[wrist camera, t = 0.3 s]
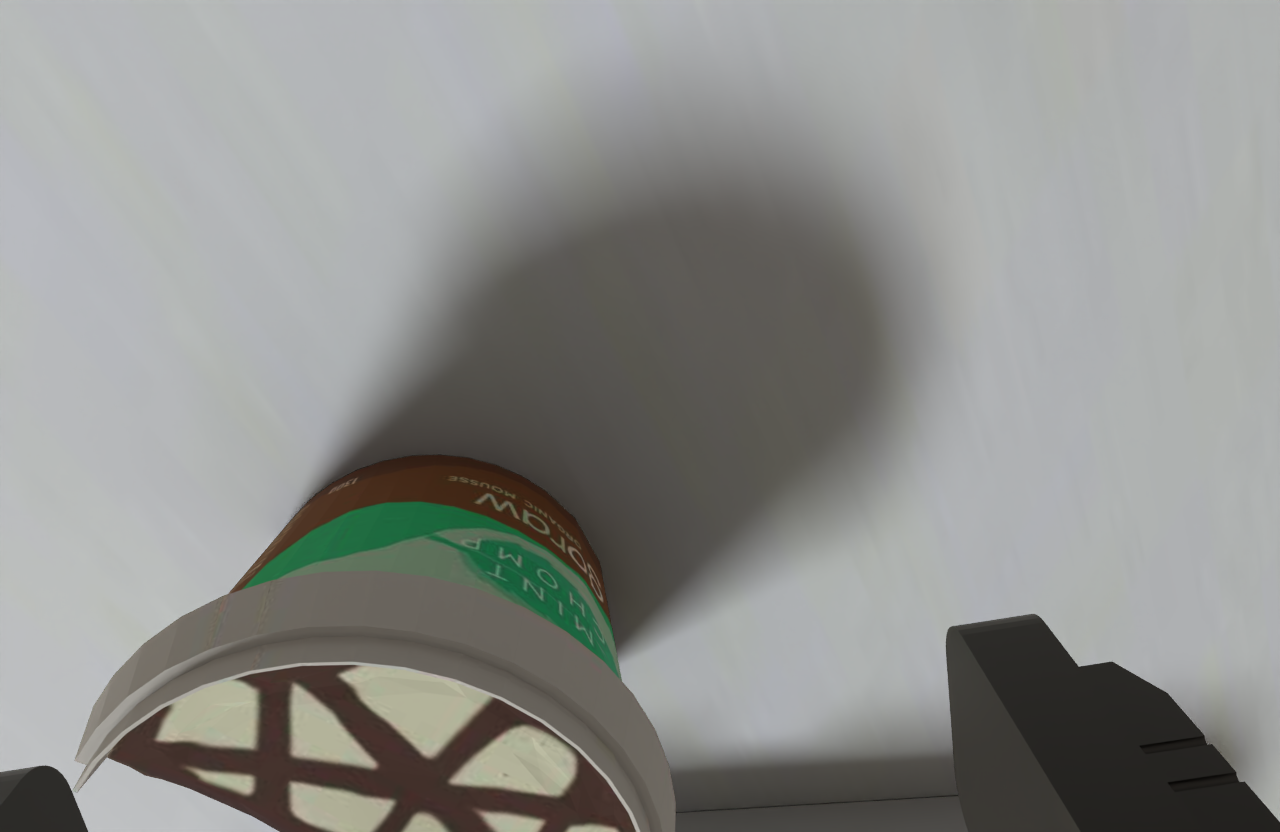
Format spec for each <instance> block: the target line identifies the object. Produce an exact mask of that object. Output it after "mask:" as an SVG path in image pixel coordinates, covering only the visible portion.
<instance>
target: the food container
mask: <svg viewBox="0 0 1280 832" xmlns="http://www.w3.org/2000/svg"><path fill="white" fill-rule="evenodd" d="M106 757H108V758H110V759H112V760H114V761H117V762H119V763H122V764H124V765H127V766H129V767H131V768H133V769H135V770H136V771H138V772H140V773H142V774H144V775H146V776H150V777H154V778H159V779H163V780H166V781H169V782H172V783H175V784H178V785H181V786H184V787H187V788H190V789H192V790H194V791H196V792H199V793H201V794H203V795H205V796H208V797H210V798H212V799H215V800H217V801H219V802H221V803H224V804H226V805H228V806H230V807H233V808H235V809H237V810H240V811H242V812H244V813H246V814H249V815H251V816H253V817H255V818H257V819H258V820H260V821H262V822H264V823H265V824H267V825H269V826H271V827H272V828H274V829H276V830H278V831H279V832H675V814H676V801H675V795H674V790H673V784H672V779H671V773H670V768H669V764H668V761H667V759H666V756H665V754H664V751H663V749H662V746H661V744H660V741H659V738H658V736H657V733H656V731H655V728H654V727H653V725H652V724H651V722H650V720H649V719H648V717H647V716H646V714H645V712H644V711H643V709H642V708H641V706H640V705H639V703H638V701H637V700H636V698H635V697H634V695H633V693H632V692H631V691H630V690H629V689H628V688H627V687H626V686H625V685H624V683H623V682H622V679H621V674H620V669H619V663H618V658H617V652H616V647H615V642H614V636H613V631H612V626H611V620H610V615H609V609H608V604H607V599H606V593H605V588H604V582H603V577H602V572H601V566H600V562H599V560H598V558H597V556H596V554H595V553H594V551H593V549H592V547H591V546H590V544H589V542H588V540H587V538H586V537H585V535H584V533H583V531H582V530H581V528H580V526H579V524H578V522H577V521H576V519H575V518H574V517H573V516H572V515H571V514H570V513H569V512H568V511H567V510H566V509H564V508H563V507H562V506H561V505H560V504H559V503H558V502H557V501H556V500H555V499H554V498H553V497H552V496H550V495H549V494H548V493H547V492H546V491H545V490H543V489H542V488H540V487H539V486H537V485H535V484H534V483H532V482H531V481H529V480H527V479H526V478H524V477H523V476H521V475H518V474H516V473H514V472H511V471H509V470H507V469H504V468H502V467H500V466H497V465H494V464H490V463H486V462H483V461H479V460H475V459H471V458H465V457H456V456H447V455H418V456H407V457H402V458H397V459H391V460H386V461H382V462H379V463H376V464H373V465H370V466H367V467H364V468H361V469H358V470H356V471H354V472H352V473H350V474H348V475H346V476H345V477H343V478H341V479H339V480H337V481H335V482H333V483H332V484H330V485H329V486H328V487H326V488H325V489H324V490H322V491H321V492H320V493H318V494H317V495H316V496H314V497H313V498H312V499H310V500H309V502H308V503H307V504H306V505H305V506H304V507H303V508H302V509H301V510H300V511H299V512H298V513H297V514H296V515H295V516H294V517H293V518H292V520H291V521H290V522H289V523H288V524H287V525H286V527H285V528H284V529H283V530H282V531H281V532H280V534H279V535H278V536H277V537H276V538H275V539H274V541H273V542H272V543H271V544H270V545H269V547H268V548H267V549H266V550H265V551H264V552H263V554H262V555H261V556H260V557H259V558H258V559H257V561H256V562H255V563H254V564H253V565H252V567H251V568H250V569H249V570H248V571H247V572H246V574H245V575H244V576H243V577H242V578H241V579H240V581H239V582H238V583H237V584H236V585H235V587H234V588H233V589H232V590H231V591H230V592H229V594H227V595H224V596H222V597H220V598H218V599H216V600H214V601H212V602H210V603H208V604H206V605H204V606H202V607H200V608H198V609H196V610H194V611H192V612H190V613H188V614H186V615H184V616H182V617H180V618H179V619H177V620H176V621H175V622H173V623H172V624H170V625H169V626H168V627H166V628H165V629H164V630H162V631H161V632H159V633H158V634H157V635H155V636H154V637H152V638H151V639H150V640H148V641H147V642H146V643H144V644H143V645H142V646H141V647H140V648H139V649H138V650H137V651H136V652H135V653H134V654H133V656H132V657H131V658H130V659H129V660H128V661H127V662H126V663H125V664H124V665H123V666H122V667H121V668H120V669H119V670H118V671H117V672H116V673H115V674H114V675H113V677H112V678H111V680H110V681H109V683H108V685H107V686H106V688H105V689H104V691H103V692H102V694H101V695H100V697H99V698H98V700H97V702H96V703H95V705H94V706H93V709H92V712H91V715H90V717H89V720H88V723H87V726H86V729H85V732H84V735H83V738H82V740H81V743H80V746H79V749H78V752H77V755H76V758H75V761H77V762H79V763H82V764H86V765H87V766H86V767H85V769H84V771H83V773H82V775H81V776H80V778H79V780H78V782H77V784H76V785H75V787H74V789H73V791H74V792H76V793H77V792H78V791H79V790H80V788H81V787H82V786H83V785H84V784H85V782H86V781H87V780H88V779H89V778H90V776H91V775H92V774H93V773H94V772H95V771H96V769H97V768H98V767H99V766H100V765H101V763H102V762H103V761H104V760H105V759H106Z"/></svg>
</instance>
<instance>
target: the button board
mask: <svg viewBox="0 0 1280 832" xmlns="http://www.w3.org/2000/svg"><path fill="white" fill-rule="evenodd" d="M675 832H968V830H967V827H966V823H965V820H964V816H963V813H962V809H961V805H960V800H959V796H949V797H932V798H916V799H899V800H883V801H866V802H850V803H833V804H817V805H800V806H784V807H767V808H751V809H734V810H717V811H701V812H684V813H676V814H675Z"/></svg>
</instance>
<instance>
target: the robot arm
mask: <svg viewBox="0 0 1280 832" xmlns="http://www.w3.org/2000/svg"><path fill="white" fill-rule="evenodd" d="M946 657H947V671H948V685H949V699H950V713H951V727H952V741H953V754H954V768H955V778H956V785H957V790H958V796H959V800H960V805H961V809H962V813H963V816H964V820H965V823H966V827H967V830H968V832H1280V822H1279V821H1278V820H1277V818H1276V817H1275V816H1274V815H1273V814H1272V813H1271V811H1270V810H1269V809H1268V808H1267V807H1266V806H1265V805H1264V803H1263V802H1262V801H1261V800H1260V799H1259V798H1258V797H1257V795H1256V794H1255V793H1254V792H1253V791H1252V790H1251V789H1250V787H1249V786H1248V785H1247V784H1246V783H1245V782H1239V781H1238V778H1237V775H1236V771H1235V770H1234V769H1233V768H1232V767H1231V766H1230V764H1229V763H1228V762H1227V761H1226V760H1225V759H1224V758H1223V756H1222V755H1221V754H1220V753H1219V752H1218V751H1217V750H1216V748H1215V747H1214V746H1213V745H1212V744H1211V745H1207V743H1206V741H1205V737H1204V735H1203V733H1202V732H1201V731H1200V730H1199V729H1198V728H1197V727H1196V725H1195V724H1194V723H1193V722H1192V721H1191V720H1190V719H1189V717H1188V716H1187V715H1186V714H1185V713H1184V712H1183V711H1182V709H1181V708H1180V707H1179V706H1178V705H1177V704H1176V702H1175V701H1174V700H1173V699H1172V698H1171V697H1170V696H1169V694H1168V693H1166V692H1164V691H1163V690H1161V689H1159V688H1157V687H1156V686H1154V685H1152V684H1150V683H1149V682H1147V681H1145V680H1143V679H1142V678H1140V677H1138V676H1136V675H1135V674H1133V673H1131V672H1129V671H1128V670H1126V669H1124V668H1122V667H1121V666H1119V665H1117V664H1115V663H1114V662H1107V663H1100V664H1094V665H1087V666H1081V667H1078V665H1077V664H1076V663H1075V661H1074V660H1073V659H1072V657H1071V656H1070V655H1069V654H1068V652H1067V651H1066V650H1065V648H1064V647H1063V646H1062V644H1061V643H1060V642H1059V640H1058V639H1057V638H1056V637H1055V635H1054V634H1053V633H1052V631H1051V630H1050V629H1049V627H1048V626H1047V625H1046V623H1045V622H1044V621H1043V620H1042V619H1041V618H1040V617H1039V616H1037V615H1035V614H1029V615H1023V616H1016V617H1010V618H1003V619H997V620H991V621H984V622H978V623H971V624H965V625H958V626H952V627H950V628H949V629H948V632H947V637H946ZM0 832H88V830H87V828H86V825H85V823H84V820H83V818H82V815H81V813H80V810H79V808H78V806H77V803H76V801H75V798H74V796H73V793H72V791H71V788H70V786H69V784H68V782H67V780H66V779H65V778H64V776H63V775H62V774H61V773H60V772H59V771H58V770H56V769H55V768H53V767H50V766H37V767H31V768H24V769H18V770H12V771H5V772H0Z"/></svg>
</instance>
